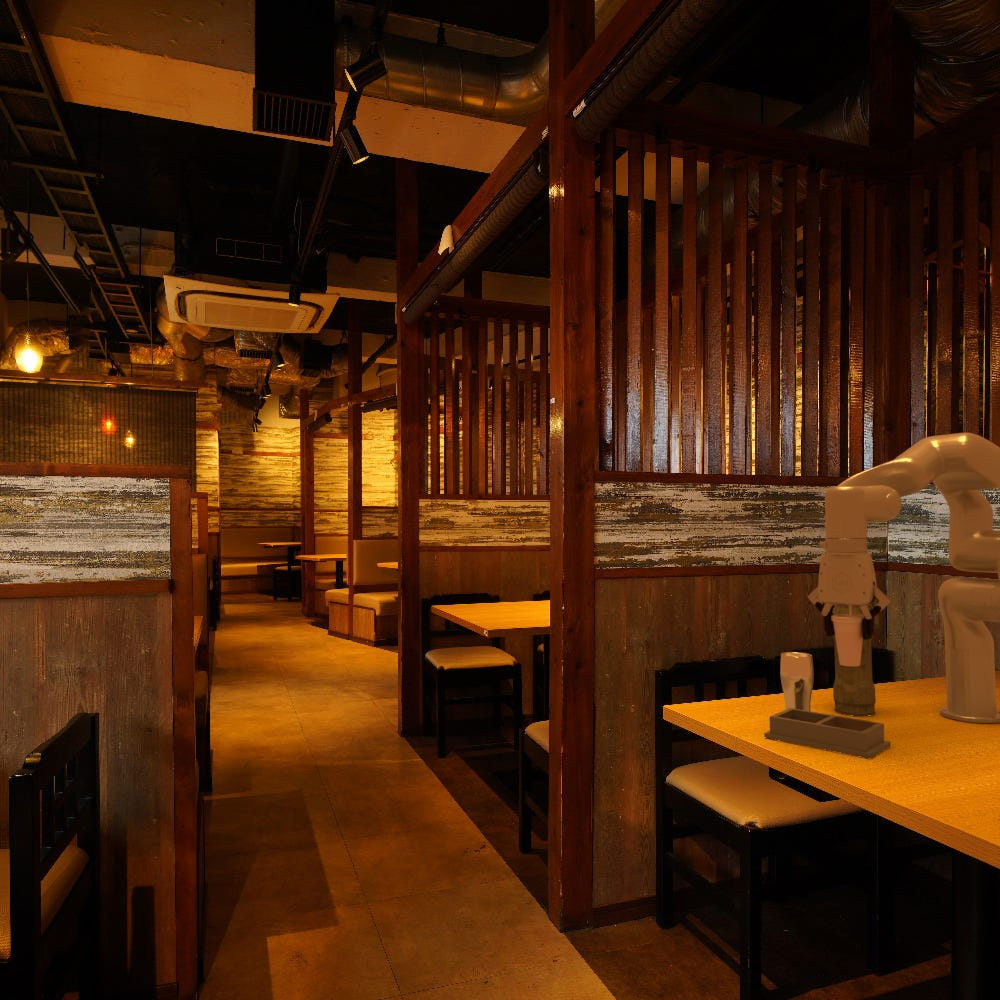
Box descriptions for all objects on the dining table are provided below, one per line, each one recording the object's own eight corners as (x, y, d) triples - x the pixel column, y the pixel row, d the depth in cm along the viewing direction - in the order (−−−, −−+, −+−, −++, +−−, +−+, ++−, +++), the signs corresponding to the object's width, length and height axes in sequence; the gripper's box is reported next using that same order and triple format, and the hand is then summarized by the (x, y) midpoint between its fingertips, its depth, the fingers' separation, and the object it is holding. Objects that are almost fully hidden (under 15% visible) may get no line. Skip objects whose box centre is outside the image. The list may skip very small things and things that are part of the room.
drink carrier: (787, 727, 164) (787, 706, 164) (890, 746, 149) (890, 723, 149) (764, 738, 156) (763, 716, 156) (870, 759, 141) (869, 735, 141)
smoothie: (853, 668, 145) (851, 596, 146) (825, 663, 151) (823, 594, 151) (874, 665, 148) (872, 594, 149) (846, 660, 154) (844, 592, 154)
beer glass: (817, 726, 164) (816, 657, 165) (784, 724, 166) (782, 656, 166) (811, 718, 171) (809, 652, 172) (779, 717, 173) (777, 651, 173)
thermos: (831, 705, 183) (827, 561, 185) (885, 711, 176) (880, 562, 178) (823, 712, 176) (818, 563, 177) (878, 719, 169) (873, 564, 170)
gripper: (796, 547, 154) (798, 635, 153) (886, 548, 142) (889, 643, 141) (811, 546, 159) (813, 631, 159) (899, 547, 147) (902, 639, 146)
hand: (848, 636), depth 150 cm, fingers closed on smoothie, 6 cm apart
